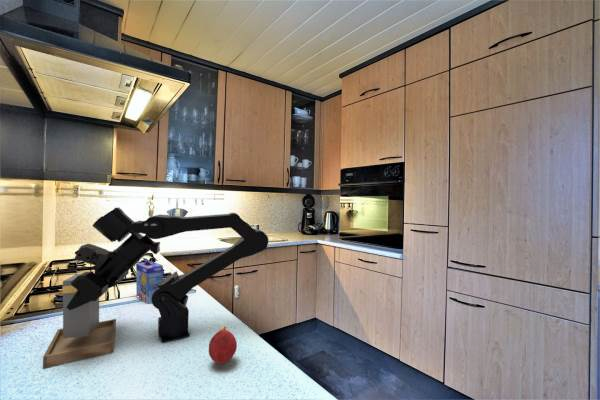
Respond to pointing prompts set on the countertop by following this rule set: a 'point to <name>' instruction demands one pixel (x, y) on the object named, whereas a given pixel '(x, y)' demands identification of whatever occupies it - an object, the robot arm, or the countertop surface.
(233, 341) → the onion
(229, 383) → the countertop surface
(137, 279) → the ink cartridge box
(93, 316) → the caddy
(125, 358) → the countertop surface
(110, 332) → the tray
